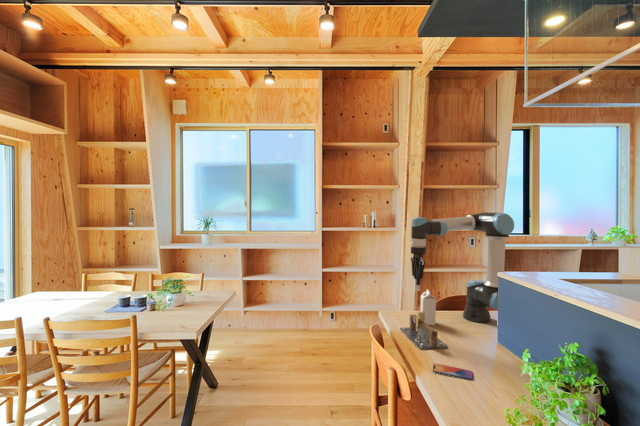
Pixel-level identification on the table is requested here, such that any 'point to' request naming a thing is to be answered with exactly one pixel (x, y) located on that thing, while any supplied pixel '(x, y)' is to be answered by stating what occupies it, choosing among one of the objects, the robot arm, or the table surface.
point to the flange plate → (422, 339)
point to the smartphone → (453, 371)
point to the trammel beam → (431, 332)
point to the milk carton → (428, 307)
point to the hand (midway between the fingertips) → (416, 290)
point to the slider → (420, 318)
